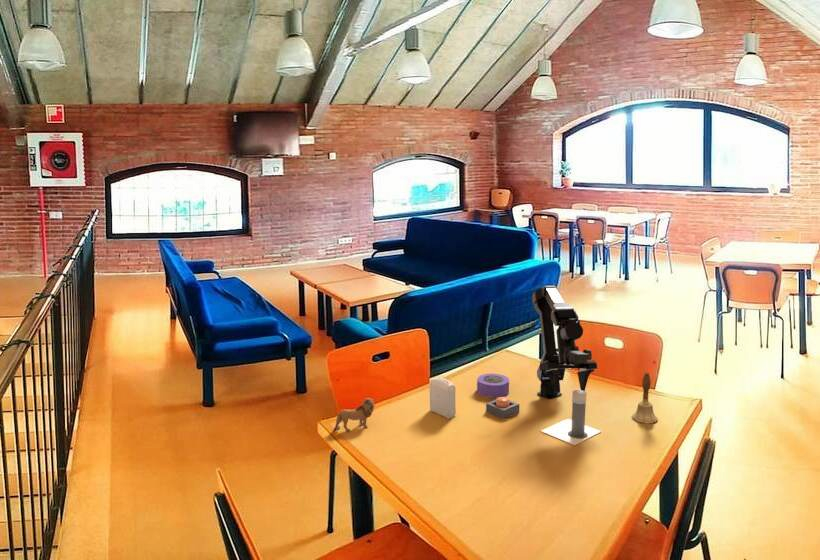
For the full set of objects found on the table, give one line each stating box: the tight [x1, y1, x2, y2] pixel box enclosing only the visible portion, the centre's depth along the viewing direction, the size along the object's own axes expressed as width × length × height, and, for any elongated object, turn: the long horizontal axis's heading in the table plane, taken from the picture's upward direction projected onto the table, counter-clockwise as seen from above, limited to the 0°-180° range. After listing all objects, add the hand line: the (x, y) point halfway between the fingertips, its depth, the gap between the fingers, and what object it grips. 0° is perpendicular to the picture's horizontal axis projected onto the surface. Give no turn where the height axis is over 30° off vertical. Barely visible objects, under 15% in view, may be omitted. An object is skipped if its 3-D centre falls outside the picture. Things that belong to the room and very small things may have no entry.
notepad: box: [540, 418, 602, 446], centre depth 213 cm, size 14×13×1 cm
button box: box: [485, 399, 520, 420], centre depth 229 cm, size 8×8×3 cm
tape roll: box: [476, 373, 510, 398], centre depth 247 cm, size 12×12×5 cm
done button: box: [495, 396, 511, 408], centre depth 228 cm, size 5×5×4 cm
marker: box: [571, 389, 588, 437], centre depth 209 cm, size 4×4×14 cm
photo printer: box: [429, 377, 457, 419], centre depth 227 cm, size 10×4×12 cm, turn 40°
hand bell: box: [631, 372, 659, 424], centre depth 220 cm, size 8×8×16 cm
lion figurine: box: [332, 397, 376, 432], centre depth 218 cm, size 15×5×9 cm, turn 119°
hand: (571, 392), depth 216 cm, fingers open, 9 cm apart
